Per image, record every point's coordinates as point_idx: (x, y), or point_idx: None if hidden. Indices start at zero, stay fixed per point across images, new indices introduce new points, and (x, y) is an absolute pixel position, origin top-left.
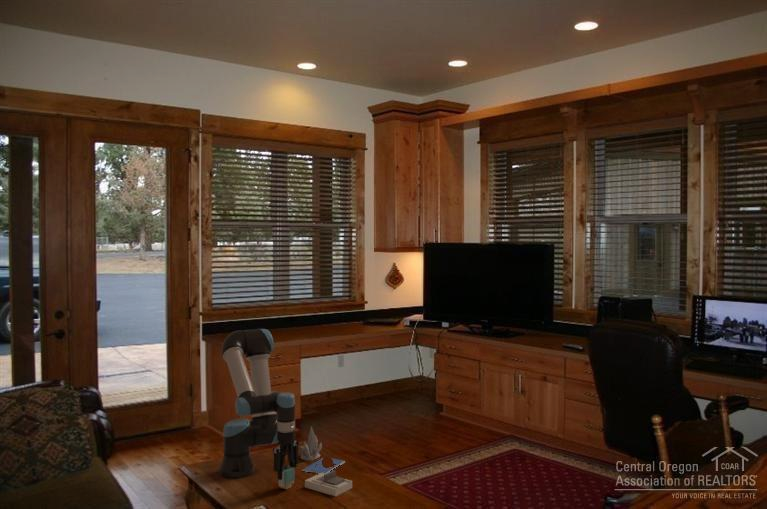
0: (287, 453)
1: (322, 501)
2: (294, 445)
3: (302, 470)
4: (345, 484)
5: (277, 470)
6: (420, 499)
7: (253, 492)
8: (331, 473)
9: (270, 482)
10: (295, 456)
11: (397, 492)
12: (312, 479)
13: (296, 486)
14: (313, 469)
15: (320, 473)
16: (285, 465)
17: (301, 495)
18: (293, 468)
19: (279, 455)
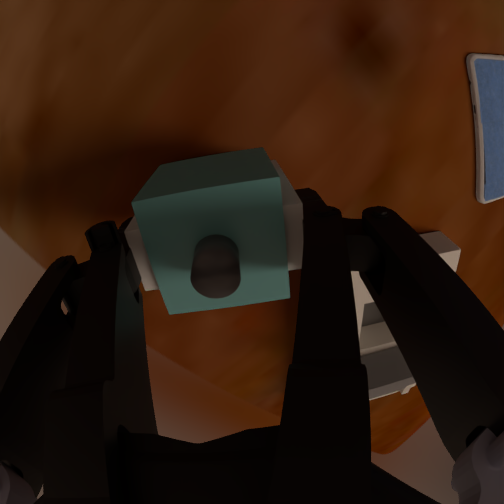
0: (295, 358)
1: (245, 394)
2: (463, 467)
3: (471, 61)
4: (377, 397)
5: (70, 315)
6: (394, 447)
7: (35, 104)
8: (398, 386)
9: (209, 16)
10: (394, 321)
11: (414, 420)
12: (359, 294)
13: None
14: (502, 111)
15: (449, 254)
16: (202, 281)
17: (220, 317)
18: (277, 296)
19: (41, 459)
